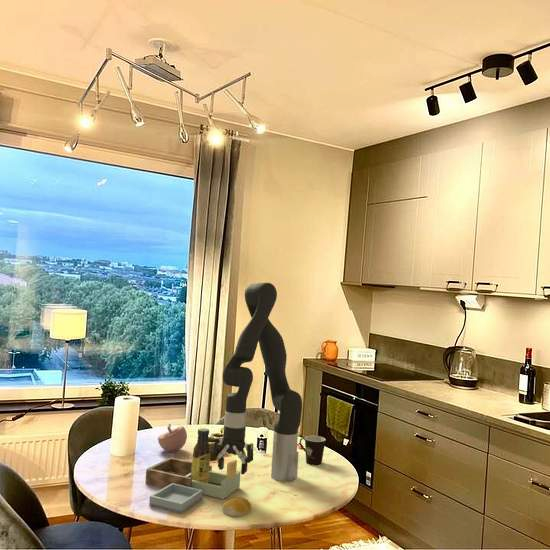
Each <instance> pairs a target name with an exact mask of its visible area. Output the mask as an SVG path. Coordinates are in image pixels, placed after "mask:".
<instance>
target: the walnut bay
mask: <svg viewBox="0 0 550 550" xmlns="http://www.w3.org/2000/svg"><path fill="white" fill-rule="evenodd" d="M191 470H192V461H189V460H185V459H182V458H181V459H180V458H175V457H169V458H166V459H165V460H162V461H160V462H158V463H156V464H154V465H152V466H150V467H148V468H146V469H145V472H146V473H145V484H146V483H147V484H146V485H150V486H156V487H158V486H159V487H160V488H162V489H163V488H165V487H166V486H168V485H170V484H171V483H174V484H178V485H183V486H187V487H192V478H190V477H186V475H188V474H189V473H191ZM209 471H213V467H212V465H210V466H209ZM169 472H170V473H169ZM172 472H174V473H172ZM177 473H178V474H177ZM159 487H158V488H159Z"/></svg>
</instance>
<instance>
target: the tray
mask: <svg viewBox="0 0 550 550" xmlns="http://www.w3.org/2000/svg"><path fill="white" fill-rule="evenodd" d="M203 495H204V494H203V490H200V489H196V488H191V487H187V486H183V485H178V484H174V483H171V484H170V485H168V486H166V487H165V488H163V487H162V488H161V489H159V490H158V491H156V492H154V493H152V494H151V495H149V500H148V501H149V502H148V503H149V504H148V506H150V507H153V508H157V509H160V508H161V509H160V510H165V511H168V510H169V512H173V513H178V514H180V515H182V514H184V513H185V512H186V511H188V510H189V509H190V508H192V507H194V506H195V505H196V504H198V503H199V502H200V501H201V500H202V501H203Z"/></svg>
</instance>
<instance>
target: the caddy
mask: <svg viewBox="0 0 550 550" xmlns="http://www.w3.org/2000/svg"><path fill="white" fill-rule="evenodd" d="M237 464H238V460H237V459H233V460H231V461H229V462H228V463H226V473H222V472H218V471H215V470H212V471H209V478H208V483H204V482H199V481H195V480H192V487H191V488H196V489H200V490H203V495H205V496H209V497H214V498H218V499H221V500H224V499H226V498H227V497H228V496H230V495H232V493H234V492H235V491H236V490H238V489H239V488H240V486H241V485H240V484H241V470H240V471H239V470H237V466H238V465H237ZM185 476H186V477H190V478H191V473H189V474H188V475H185ZM209 482H211V483H209ZM212 483H214V484H212ZM217 484H219V485H217Z"/></svg>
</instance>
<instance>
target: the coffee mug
mask: <svg viewBox="0 0 550 550" xmlns="http://www.w3.org/2000/svg"><path fill="white" fill-rule="evenodd" d="M302 440H304V445H305V447H304V446H303V444H302ZM326 441H327V440H326V438H325V437H323V436H319V435H307V436H304V437H301V438H300V440H299V446H300V447H301V449H302V450H303V451H304V453H305V463H306V464H307V465H309V466H314V465H315V466H316V467H317V466H321V465H322V462H323V457H324V452H325V451H324V450H325V445H326Z"/></svg>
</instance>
